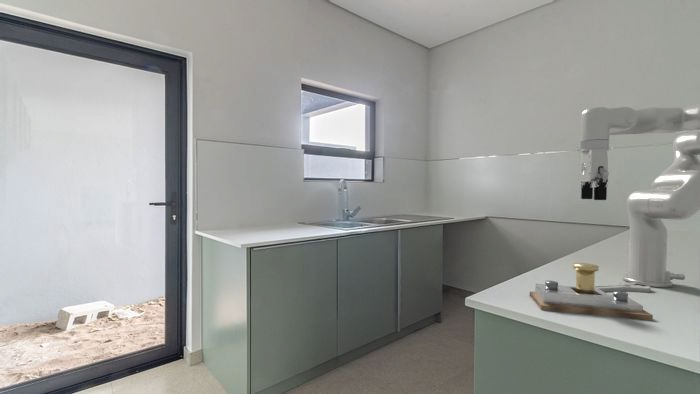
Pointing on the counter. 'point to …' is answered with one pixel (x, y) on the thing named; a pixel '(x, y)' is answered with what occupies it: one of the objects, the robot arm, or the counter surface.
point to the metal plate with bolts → (585, 297)
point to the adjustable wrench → (624, 287)
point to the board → (591, 310)
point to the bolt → (585, 277)
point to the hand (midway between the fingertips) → (593, 199)
